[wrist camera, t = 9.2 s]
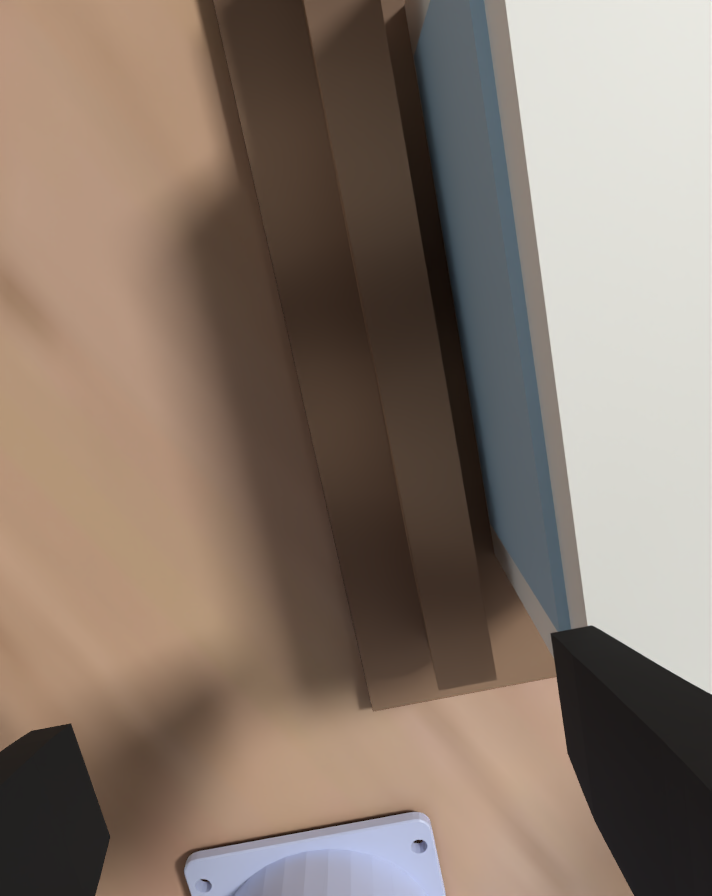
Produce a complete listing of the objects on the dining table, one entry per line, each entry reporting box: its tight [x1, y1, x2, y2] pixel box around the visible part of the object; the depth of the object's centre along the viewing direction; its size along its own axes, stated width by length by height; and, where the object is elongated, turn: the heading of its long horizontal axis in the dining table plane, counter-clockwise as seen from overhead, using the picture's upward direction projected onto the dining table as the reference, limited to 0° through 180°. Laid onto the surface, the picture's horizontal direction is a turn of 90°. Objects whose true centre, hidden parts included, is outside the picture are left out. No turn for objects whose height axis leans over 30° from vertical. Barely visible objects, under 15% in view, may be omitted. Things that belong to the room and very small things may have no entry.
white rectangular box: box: [405, 0, 712, 694], centre depth 13 cm, size 14×4×8 cm, turn 11°
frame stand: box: [213, 0, 557, 711], centre depth 16 cm, size 22×12×3 cm, turn 11°
